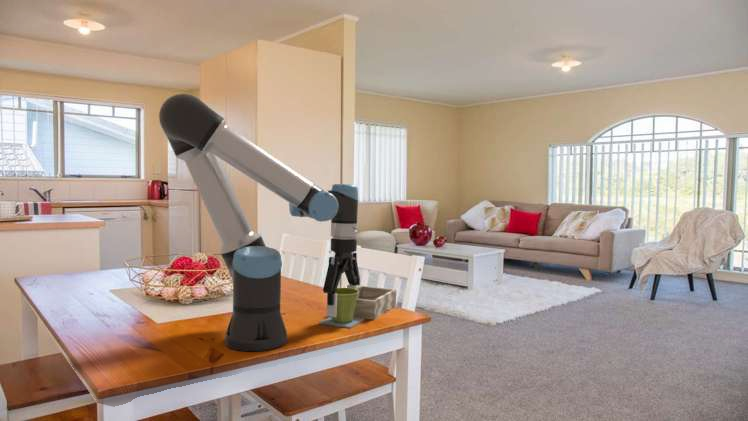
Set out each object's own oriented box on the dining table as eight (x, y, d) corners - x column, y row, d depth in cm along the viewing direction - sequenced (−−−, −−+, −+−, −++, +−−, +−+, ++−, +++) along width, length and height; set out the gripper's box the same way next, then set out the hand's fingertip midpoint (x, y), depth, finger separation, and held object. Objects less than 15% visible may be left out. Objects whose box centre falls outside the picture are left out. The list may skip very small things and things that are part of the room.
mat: (350, 328, 147) (350, 326, 147) (318, 323, 150) (318, 322, 150) (364, 319, 156) (364, 318, 156) (334, 315, 160) (334, 314, 160)
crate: (374, 319, 156) (375, 301, 156) (335, 314, 161) (335, 296, 161) (395, 306, 174) (396, 289, 174) (359, 301, 179) (360, 285, 179)
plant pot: (329, 325, 147) (329, 295, 147) (323, 317, 156) (324, 288, 156) (361, 324, 150) (362, 293, 149) (354, 315, 159) (354, 287, 158)
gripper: (336, 242, 139) (334, 322, 140) (372, 235, 162) (369, 304, 163) (311, 240, 142) (309, 319, 143) (349, 233, 164) (347, 301, 165)
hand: (341, 311), depth 153 cm, fingers open, 12 cm apart
